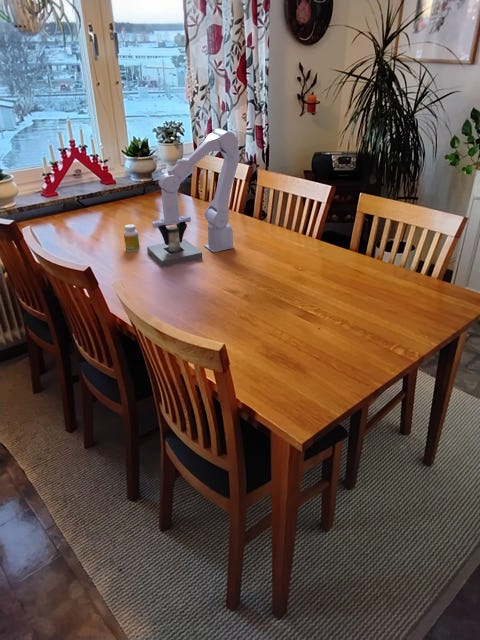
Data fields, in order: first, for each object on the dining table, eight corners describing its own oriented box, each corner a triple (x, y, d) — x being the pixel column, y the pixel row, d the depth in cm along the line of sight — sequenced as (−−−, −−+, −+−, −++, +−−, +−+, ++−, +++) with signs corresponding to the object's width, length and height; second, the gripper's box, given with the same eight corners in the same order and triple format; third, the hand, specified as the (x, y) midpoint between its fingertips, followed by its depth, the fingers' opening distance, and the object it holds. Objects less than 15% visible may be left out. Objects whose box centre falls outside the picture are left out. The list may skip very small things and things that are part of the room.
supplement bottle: (136, 252, 187) (133, 228, 182) (123, 251, 188) (120, 227, 183) (141, 247, 191) (139, 224, 186) (129, 246, 192) (126, 223, 187)
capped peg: (178, 246, 185) (176, 226, 182) (183, 249, 181) (181, 229, 178) (165, 248, 183) (163, 228, 179) (170, 252, 179) (168, 231, 175)
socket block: (185, 244, 193) (185, 239, 192) (202, 258, 181) (201, 252, 180) (147, 252, 187) (146, 246, 185) (162, 267, 175) (161, 260, 173)
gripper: (155, 213, 168) (159, 250, 175) (193, 207, 174) (195, 242, 181) (148, 208, 174) (152, 243, 181) (185, 202, 180) (187, 237, 187)
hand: (173, 242), depth 181 cm, fingers closed on capped peg, 5 cm apart
